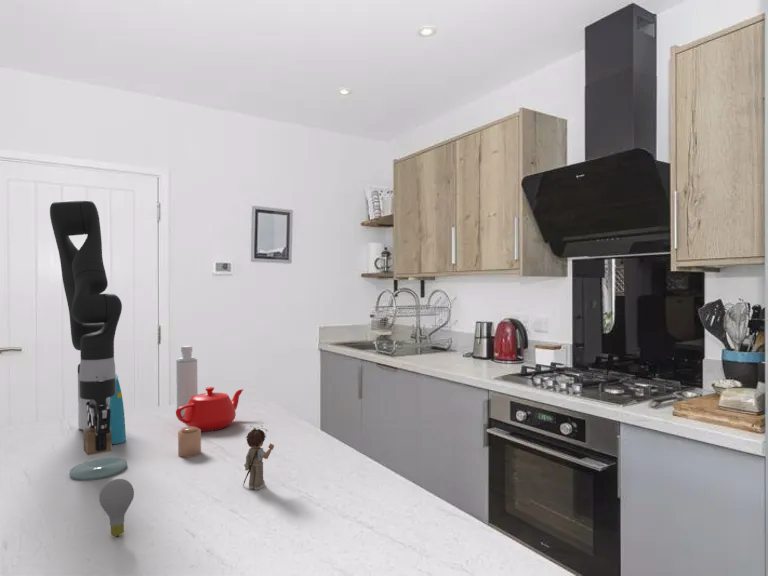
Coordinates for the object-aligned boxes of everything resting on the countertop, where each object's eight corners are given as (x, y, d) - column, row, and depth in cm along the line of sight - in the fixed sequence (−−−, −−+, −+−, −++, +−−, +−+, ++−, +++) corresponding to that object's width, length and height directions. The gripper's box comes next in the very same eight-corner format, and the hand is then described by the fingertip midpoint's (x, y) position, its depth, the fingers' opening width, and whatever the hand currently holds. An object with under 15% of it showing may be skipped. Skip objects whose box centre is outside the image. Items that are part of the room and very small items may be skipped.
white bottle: (172, 416, 173) (172, 342, 173) (183, 411, 179) (183, 340, 179) (191, 417, 172) (190, 342, 171) (201, 412, 178) (200, 340, 178)
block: (83, 450, 123) (83, 429, 123) (106, 446, 126) (106, 425, 126) (87, 455, 119) (87, 434, 119) (111, 451, 123) (111, 430, 123)
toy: (275, 483, 115) (275, 417, 114) (262, 492, 109) (261, 423, 109) (251, 480, 117) (251, 414, 117) (237, 489, 111) (236, 421, 111)
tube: (128, 443, 144) (128, 375, 144) (109, 446, 141) (108, 377, 141) (122, 437, 150) (121, 371, 150) (103, 440, 147) (103, 373, 147)
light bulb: (108, 529, 94) (107, 474, 94) (139, 527, 94) (138, 473, 94) (93, 544, 88) (93, 486, 88) (126, 542, 89) (126, 485, 89)
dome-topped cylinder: (175, 453, 136) (174, 428, 136) (196, 448, 139) (196, 424, 139) (182, 458, 131) (182, 433, 131) (204, 453, 135) (204, 428, 135)
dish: (65, 469, 124) (65, 465, 124) (120, 458, 132) (119, 454, 132) (75, 484, 115) (75, 480, 115) (133, 471, 123) (133, 467, 123)
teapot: (192, 440, 147) (192, 397, 147) (161, 431, 156) (161, 391, 156) (259, 420, 168) (259, 383, 168) (228, 413, 177) (228, 378, 176)
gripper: (73, 375, 126) (74, 444, 126) (86, 383, 115) (87, 459, 115) (107, 371, 131) (108, 438, 131) (122, 379, 120) (123, 451, 120)
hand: (98, 447), depth 123 cm, fingers closed on block, 5 cm apart
